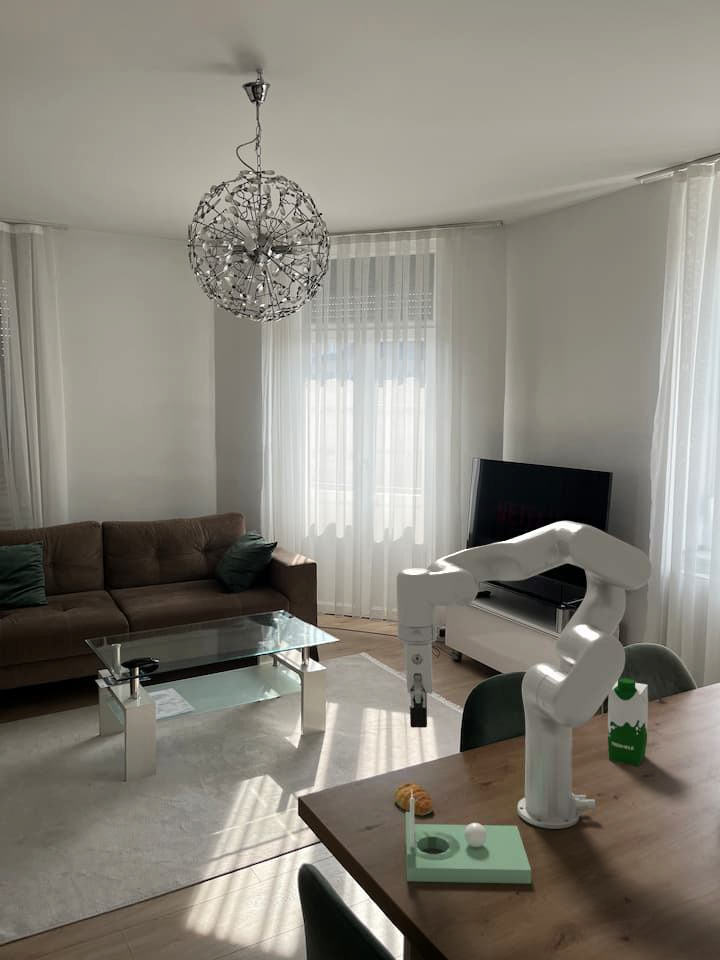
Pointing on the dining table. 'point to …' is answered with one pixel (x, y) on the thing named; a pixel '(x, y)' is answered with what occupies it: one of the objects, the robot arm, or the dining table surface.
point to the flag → (412, 820)
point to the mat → (465, 855)
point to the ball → (475, 835)
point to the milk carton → (627, 721)
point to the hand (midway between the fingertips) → (418, 717)
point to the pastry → (420, 796)
